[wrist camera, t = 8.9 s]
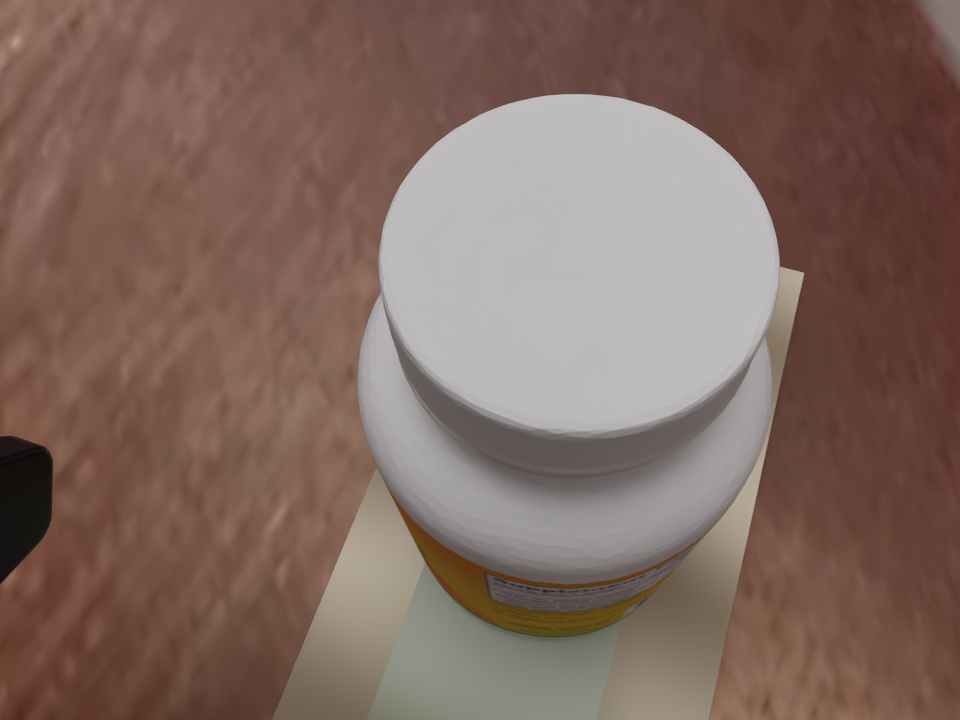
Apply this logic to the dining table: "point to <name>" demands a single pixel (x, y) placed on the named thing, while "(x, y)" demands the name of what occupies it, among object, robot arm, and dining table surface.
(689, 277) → the supplement bottle
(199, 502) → the dining table surface
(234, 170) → the dining table surface
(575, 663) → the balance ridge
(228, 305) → the dining table surface
